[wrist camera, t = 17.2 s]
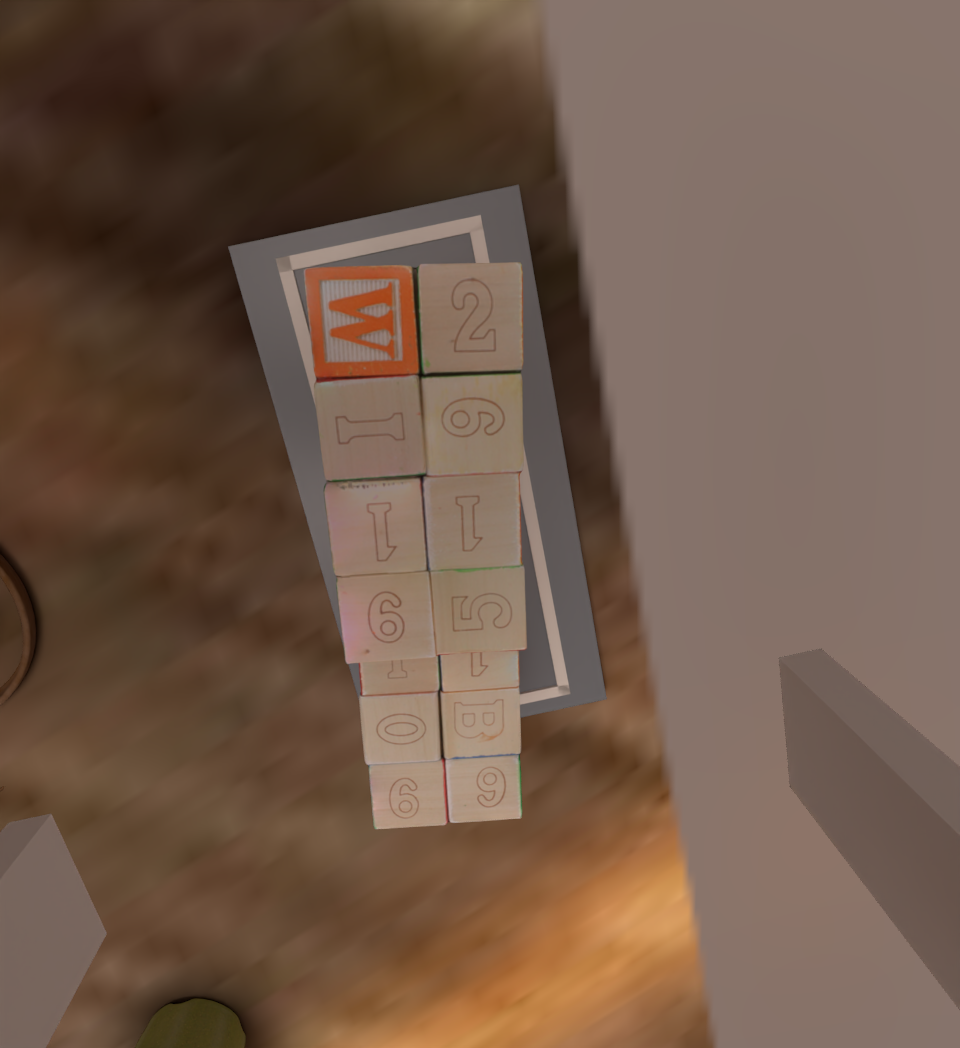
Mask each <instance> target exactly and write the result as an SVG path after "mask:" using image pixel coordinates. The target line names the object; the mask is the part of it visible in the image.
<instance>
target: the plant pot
mask: <svg viewBox="0 0 960 1048" xmlns="http://www.w3.org/2000/svg"><path fill="white" fill-rule="evenodd" d="M245 1041H246V1035H245V1034H244V1032H243V1030H242V1027H241V1024H240V1021H239V1018H238V1017H237V1015H236V1014H235V1013H234V1012H233V1011H231V1010H230V1009H229V1008H227V1007H225V1006H224V1005H222V1004H219V1003H217V1002H214V1001H211V1000H206V999H197V998H195V999H191V1000H189V1001H187V1002H184V1003H180V1004H171V1003H170V1004H168V1005H166V1006H164V1007H163V1008H161V1009H160V1010H159V1011H158V1012H156V1014H155V1015H154V1016H153V1017H152V1019H151V1020H150V1022H149V1024H148V1025H147V1027H146V1029H145V1030H144V1032H143V1034H142V1036H141V1037H140V1039H139V1041H138V1042H137V1044H136V1046H135V1048H245Z"/></svg>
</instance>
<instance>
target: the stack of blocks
mask: <svg viewBox="0 0 960 1048" xmlns="http://www.w3.org/2000/svg"><path fill="white" fill-rule="evenodd" d="M304 282H305V292H306V301H307V310H308V319H309V328H310V339H311V348H312V358H313V368H314V374H315V377H316V381H315V383H314V396H315V404H316V413H317V420H318V428H319V437H320V445H321V453H322V461H323V468H324V476H325V479H326V480H327V482H326V484H325V486H324V499H325V509H326V516H327V523H328V533H329V541H330V549H331V557H332V565H333V570H334V573H335V575H336V577H337V578H336V590H337V598H338V606H339V614H340V622H341V631H342V639H343V646H344V655H345V661H346V664H351V663H359V674H360V686H361V691H360V695H359V703H360V716H361V729H362V738H363V748H364V758H365V763H366V764H367V765H368V766H369V779H370V790H371V802H372V814H373V824H374V828H375V829H388V828H402V827H417V826H436V825H445V824H446V823H448V822H454V823H459V822H475V821H488V820H503V819H517V818H521V817H522V794H521V767H520V753H521V726H520V692H519V681H520V676H519V651H521V650H525V649H527V630H526V600H525V569H524V565H523V562H522V544H521V504H520V478H519V477H520V473H521V472H522V470H523V467H524V454H523V392H522V376H521V370H522V366H523V271H522V264H521V263H520V262H509V263H454V264H420V265H419V266H418V267H417V268H413V267H411V266H405V265H383V266H344V267H315V268H306V269H305V270H304Z"/></svg>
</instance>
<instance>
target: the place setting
mask: <svg viewBox="0 0 960 1048" xmlns="http://www.w3.org/2000/svg"><path fill="white" fill-rule="evenodd" d="M0 578H1V579H2V580H3V582H4V583H5V585H6V586H7V588H8V590H9V592H10V593H11V595H12V597H13V599H14V602H15V604H16V607H17V609H18V612H19V616H20V620H21V624H22V632H23V651H22V656H21V661H20V664H19V665H18V667H17V669H16V671H15V672H14V674H13V675H12V676H11V677H10V679H9V680H8V681H7V682H6V683H5V684H4V685H3V686H2V687H1V688H0V705H1V704H3V703H4V702H5V701H6V700H7V699H8V698H9V697H10V696H11V695H12V694H13V692H14V691H15V690H16V689H17V687H18V686H19V685H20V684H21V682H22V680H23V678H24V677H25V675H26V673H27V671H28V669H29V666H30V664H31V661H32V658H33V654H34V649H35V643H36V625H35V616H34V612H33V608H32V604H31V601H30V599H29V596H28V594H27V591H26V589H25V587H24V585H23V584H22V582H21V580H20V578H19V577H18V575H17V574H16V572H15V571H14V570H13V568H12V567H11V565H10V564H9V563H8V562H7V561H6V560H5V559H4V557H3V556H2V555H1V554H0ZM3 788H4V786H2V787H1V788H0V791H1V790H2V789H3Z"/></svg>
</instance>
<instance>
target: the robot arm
mask: <svg viewBox="0 0 960 1048" xmlns="http://www.w3.org/2000/svg"><path fill="white" fill-rule="evenodd" d="M779 666H780V677H781V688H782V700H783V711H784V724H785V736H786V747H787V759H788V771H789V783H790V787H791V789H792V790H793V791H794V793H795V794H796V795H797V797H798V798H799V799H800V801H801V802H802V803H803V805H804V806H805V807H806V809H807V810H808V811H809V813H810V814H811V815H812V816H813V818H814V819H815V820H816V822H817V823H818V824H819V826H820V827H821V828H822V829H823V831H824V832H825V833H826V835H827V836H828V838H829V839H830V840H831V841H832V843H833V844H834V845H835V847H836V848H837V849H838V851H839V852H840V853H841V855H842V856H843V857H844V859H845V860H846V861H847V862H848V864H849V865H850V866H851V868H852V869H853V870H854V871H855V873H856V874H857V876H858V877H859V878H860V880H861V881H862V882H863V884H864V885H865V886H866V887H867V889H868V890H869V891H870V893H871V894H872V895H873V897H874V898H875V899H876V901H877V902H878V903H879V904H880V906H881V907H882V909H883V910H884V911H885V912H886V914H887V915H888V917H889V918H890V919H891V920H892V922H893V923H894V924H895V926H896V927H897V928H898V929H899V931H900V932H901V934H902V935H903V936H904V938H905V939H906V940H907V941H908V943H909V944H910V945H911V947H912V948H913V949H914V951H915V952H916V953H917V955H918V956H919V957H920V959H921V960H922V961H923V963H924V964H925V965H926V966H927V968H928V969H929V970H930V972H931V973H932V974H933V976H934V977H935V978H936V980H937V981H938V982H939V984H940V985H941V986H942V988H943V989H944V990H945V992H946V993H947V994H948V995H949V997H950V998H951V999H952V1001H953V1002H954V1003H955V1005H956V1006H957V1007H958V1008H959V1010H960V766H958V765H957V764H956V763H955V762H954V761H952V760H951V759H950V758H949V757H948V756H947V755H946V754H944V753H943V752H942V751H941V750H940V749H938V748H937V747H936V746H935V745H934V744H933V743H931V742H930V741H929V740H928V739H927V738H926V737H924V736H923V735H922V734H921V733H920V732H918V731H917V730H916V729H915V728H914V727H913V726H912V725H910V724H909V723H908V722H907V721H906V720H904V719H903V718H902V717H901V716H900V715H899V714H897V713H896V712H895V711H894V710H893V709H891V708H890V707H889V706H888V705H887V704H886V703H884V702H883V701H882V700H881V699H880V698H879V697H877V696H876V695H875V694H874V693H873V692H872V691H870V690H869V689H868V688H867V687H866V686H865V685H863V684H862V683H861V682H860V681H858V679H856V678H855V677H854V676H853V675H852V674H850V673H849V672H848V671H847V670H846V669H845V668H843V667H842V666H841V665H840V664H839V663H838V662H836V661H835V660H834V659H833V658H832V657H831V656H829V655H828V654H827V653H826V652H825V651H824V650H822V649H817V650H812V651H807V652H803V653H798V654H793V655H789V656H784V657H779ZM106 934H107V933H106V931H105V929H104V927H103V924H102V922H101V920H100V918H99V916H98V914H97V911H96V909H95V907H94V905H93V903H92V901H91V899H90V896H89V894H88V892H87V890H86V888H85V886H84V883H83V881H82V879H81V877H80V875H79V873H78V871H77V868H76V866H75V864H74V862H73V860H72V858H71V855H70V853H69V851H68V849H67V847H66V845H65V842H64V840H63V838H62V836H61V834H60V832H59V830H58V827H57V825H56V823H55V821H54V819H53V817H52V814H48V815H43V816H38V817H34V818H29V819H24V820H20V821H15V822H10V823H8V824H7V825H6V827H5V828H4V829H3V830H2V831H1V832H0V1048H46V1046H47V1045H48V1043H49V1041H50V1039H51V1037H52V1035H53V1033H54V1031H55V1030H56V1028H57V1026H58V1024H59V1022H60V1020H61V1018H62V1016H63V1015H64V1013H65V1011H66V1009H67V1007H68V1005H69V1003H70V1001H71V1000H72V998H73V996H74V994H75V992H76V990H77V988H78V986H79V985H80V983H81V981H82V979H83V977H84V975H85V973H86V971H87V970H88V968H89V966H90V964H91V962H92V960H93V958H94V956H95V955H96V953H97V951H98V949H99V947H100V945H101V943H102V941H103V940H104V938H105V936H106Z"/></svg>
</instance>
